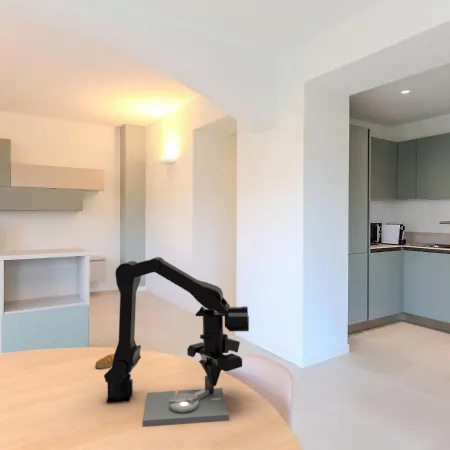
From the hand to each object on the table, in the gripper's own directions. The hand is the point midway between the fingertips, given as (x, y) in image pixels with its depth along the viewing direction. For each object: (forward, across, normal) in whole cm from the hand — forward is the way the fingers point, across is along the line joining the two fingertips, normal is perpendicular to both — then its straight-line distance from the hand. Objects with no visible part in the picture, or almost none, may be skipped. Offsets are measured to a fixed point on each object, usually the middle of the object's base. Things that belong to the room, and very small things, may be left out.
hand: (214, 385), depth 112 cm
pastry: (+4, +47, +11) cm, 48 cm away
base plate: (+5, +2, +8) cm, 10 cm away
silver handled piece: (+3, +1, +6) cm, 7 cm away
